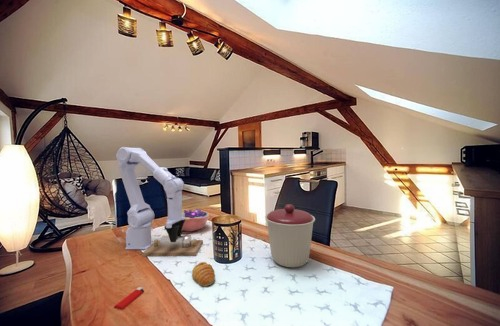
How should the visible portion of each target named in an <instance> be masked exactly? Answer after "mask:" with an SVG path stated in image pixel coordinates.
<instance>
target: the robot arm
mask: <svg viewBox="0 0 500 326" xmlns="http://www.w3.org/2000/svg"><path fill="white" fill-rule="evenodd" d="M115 157H116V160H117V163H118V170H119V174H120V177H121V179H122V180H121V181H122V182H123V185H124V190H125V192H126V195H127V198H128V201H129V205H130V208H129V210H127V212H126V214H127V223H128V227H127V229H126V232H125V246H126V247H125V248H124V250H146V249H148V248H149V247H150V246H151V245H152V244H153V243H154V240H152V224H153V221H154V220H155V213H154V210H153V209H152V208H151V204H148V203H147V202H145V199H144V197H143V194H142V190H141V188H140V185H139V182H138V179H137V174H136V172H135V169H136V167H137V166H138V165H140V164H141V165H143V167H145V168H146V169H148V170H149V171H150V172H151V173H153V178H154V179H155V180H156V181H158V183H160V184H161V185H162V186H163V189H164V192H165V193H166V197H167V199H166V200H167V219H166V223H165V225H164V230H165V231H166V233H167V235H169V239H170V242H176V240H177V235H182V231H183V230H182V227H183V224H184V222H185V217H183V213H182V212H183V196H182V195H183V193H182V191H183V190H184V188H185V182H184V181H183V179H182V178H179V177H176V176H175V175H173V174H172V173H171V172H170V171H169V170H168V168H167V167H163V166H161V167H160V166H159V165H158V164H157V163H156V162H155V161H154V160H153V159H152V158H151V157H150V156H149V155H148V154H147V151H146V150H144V149H143V148H142V147H126V146H122V147H120V148H118V151H117V152H116V155H115Z"/></svg>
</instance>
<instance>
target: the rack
mask: <svg viewBox="0 0 500 326" xmlns="http://www.w3.org/2000/svg"><path fill="white" fill-rule="evenodd" d="M153 241H154V243H153V244H152V245H151V246H150V247H149V248H148V249H144V251H143V252H142V257H196V256H197V254H198V253H199V252H200V249H201V247H202V245H203V244H204V241H203V239H197V238H194V239H191V247H188V248H182V247H162V248H161V245H160V239H154V240H153Z"/></svg>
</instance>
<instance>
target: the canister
mask: <svg viewBox="0 0 500 326" xmlns="http://www.w3.org/2000/svg"><path fill="white" fill-rule="evenodd" d="M264 218H265V220H266V223H267V232H268V233H267V234H268V240H269V247H270V254H271V257H272V259H273V261H274V262H276V264H277V265H280V266H283V267H285V268H286V267H287V268H299V267H302V266H304V265H306V264H307V263H308V260H309V257H310V255H311V254H310V252H311V246H312V237H313V227H314V223H315V222H316V218H315V216H313V215H312V214H311V213H310V212H307V211H305V210H301V209H295V206H294V205H293V204H291V203H290V204H289V203H288V204H286V205H285V206H284V208H280V209H279V208H278V209H275V210H272V211H270V212H268V213H267V214H266V215H265V216H264Z"/></svg>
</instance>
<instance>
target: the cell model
mask: <svg viewBox="0 0 500 326" xmlns="http://www.w3.org/2000/svg"><path fill="white" fill-rule="evenodd" d="M182 213H183V217H185V222H184V224H183V227H182V231H184V232H194V231H198V230H201V229H202V228H204V227H205V226H206V224H207V222H208V220H209V218H210V213H209V212H208V211H206V210H202V209H200V208H196V209H195V210H192V209H189V210H185V209H184V211H182Z"/></svg>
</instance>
